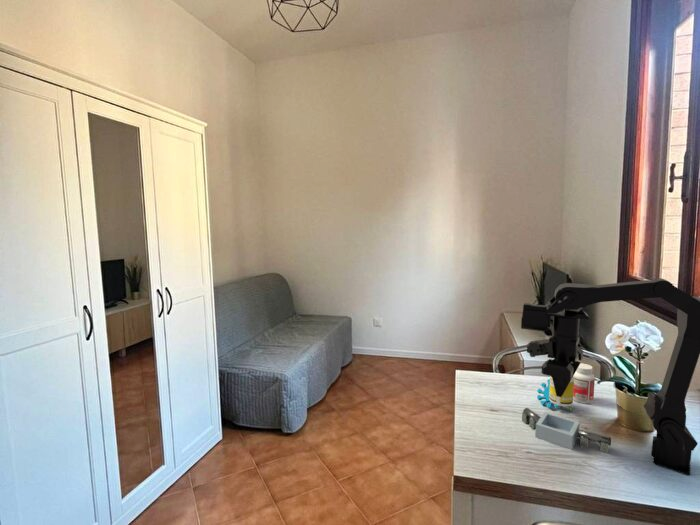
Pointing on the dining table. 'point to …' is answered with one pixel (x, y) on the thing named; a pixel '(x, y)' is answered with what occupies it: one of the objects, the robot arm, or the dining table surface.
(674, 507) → the dining table surface
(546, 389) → the gear
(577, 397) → the pill bottle
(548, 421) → the housing
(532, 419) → the shaft
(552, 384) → the supplement bottle
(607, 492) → the dining table surface
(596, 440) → the shaft
